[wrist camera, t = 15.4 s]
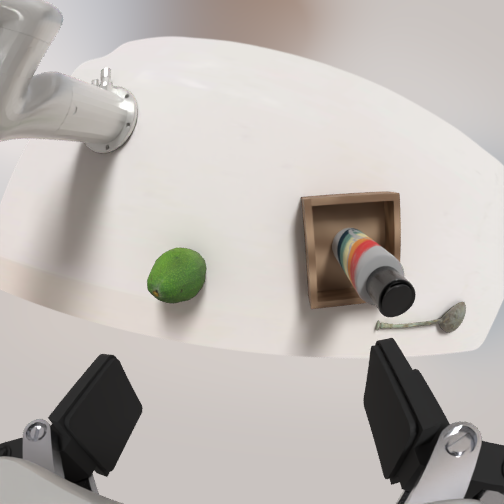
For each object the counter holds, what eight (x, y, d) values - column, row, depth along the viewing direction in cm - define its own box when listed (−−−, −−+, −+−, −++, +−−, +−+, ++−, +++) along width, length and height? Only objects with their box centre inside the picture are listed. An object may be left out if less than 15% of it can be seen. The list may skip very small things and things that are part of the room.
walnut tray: (301, 197, 40) (303, 199, 35) (387, 191, 38) (399, 193, 33) (308, 295, 44) (311, 308, 39) (387, 286, 42) (397, 298, 37)
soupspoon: (458, 325, 44) (465, 297, 42) (466, 332, 40) (474, 303, 39) (372, 338, 45) (377, 306, 44) (378, 347, 42) (384, 314, 40)
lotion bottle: (363, 223, 39) (424, 264, 20) (368, 258, 40) (424, 319, 21) (328, 231, 40) (366, 280, 21) (334, 266, 41) (371, 336, 22)
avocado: (165, 242, 44) (129, 264, 33) (209, 239, 43) (183, 262, 32) (172, 287, 46) (141, 319, 35) (215, 286, 45) (194, 321, 34)
